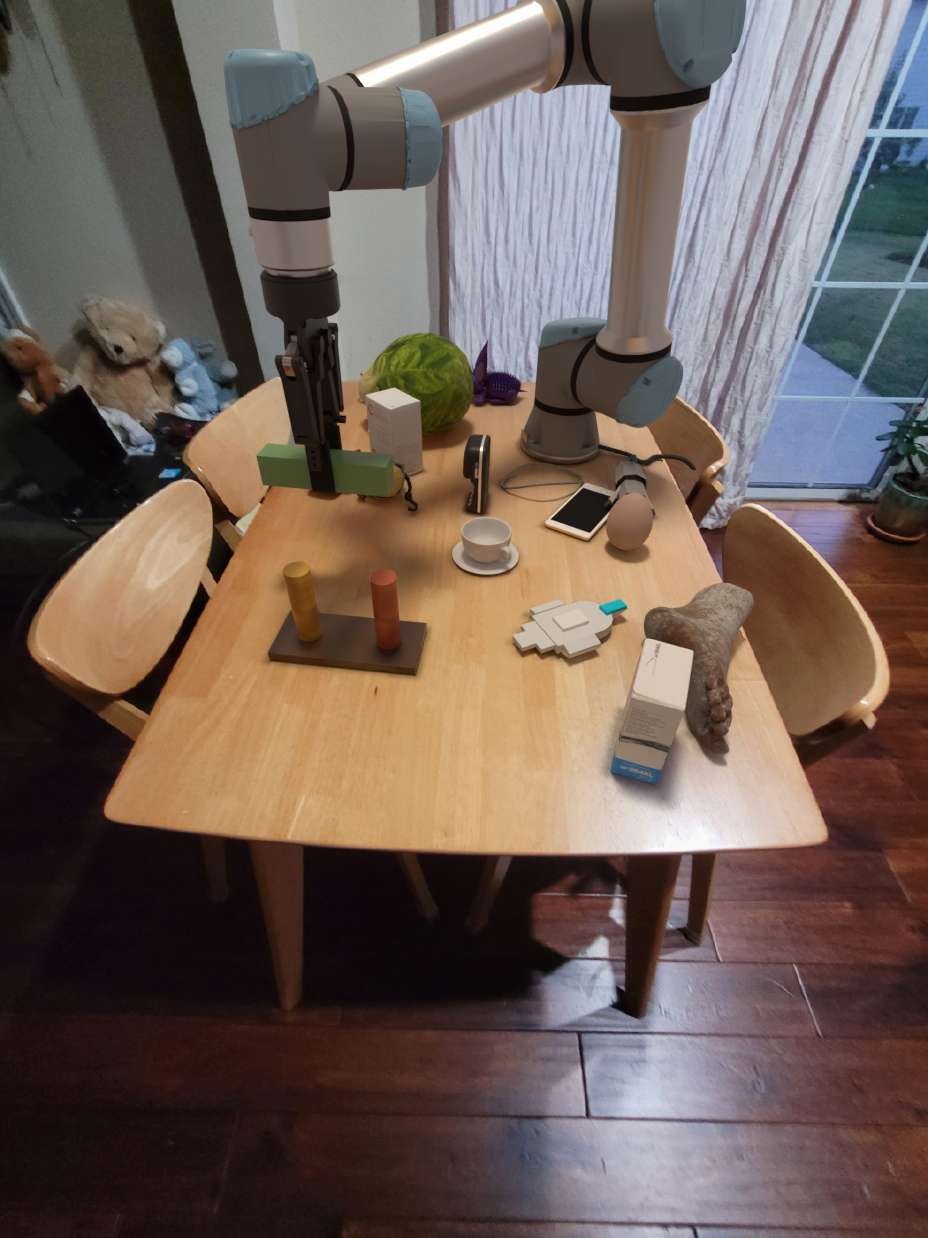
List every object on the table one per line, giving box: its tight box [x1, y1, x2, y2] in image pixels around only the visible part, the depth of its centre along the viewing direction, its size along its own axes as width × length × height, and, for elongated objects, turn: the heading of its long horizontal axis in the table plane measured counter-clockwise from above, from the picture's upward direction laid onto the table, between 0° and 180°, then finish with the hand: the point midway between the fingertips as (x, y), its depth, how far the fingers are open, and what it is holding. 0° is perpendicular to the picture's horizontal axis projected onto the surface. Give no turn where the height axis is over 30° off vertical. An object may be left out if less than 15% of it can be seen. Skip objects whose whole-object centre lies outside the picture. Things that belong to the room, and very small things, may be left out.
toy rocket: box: [511, 598, 629, 659], centre depth 74 cm, size 16×10×2 cm, turn 115°
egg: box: [605, 493, 654, 551], centre depth 86 cm, size 7×7×9 cm
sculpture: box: [643, 582, 755, 755], centre depth 67 cm, size 8×22×15 cm
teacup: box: [451, 516, 520, 575], centre depth 86 cm, size 10×10×5 cm
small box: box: [365, 388, 424, 477], centre depth 103 cm, size 8×6×13 cm
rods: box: [267, 561, 428, 675], centre depth 69 cm, size 18×8×11 cm, turn 83°
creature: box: [471, 339, 529, 406], centre depth 128 cm, size 9×18×12 cm, turn 96°
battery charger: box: [462, 433, 492, 514], centre depth 95 cm, size 7×4×11 cm, turn 172°
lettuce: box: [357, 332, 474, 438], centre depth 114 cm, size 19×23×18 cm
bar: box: [255, 442, 394, 498], centre depth 72 cm, size 16×4×4 cm, turn 82°
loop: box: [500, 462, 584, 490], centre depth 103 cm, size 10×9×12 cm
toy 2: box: [604, 453, 657, 517], centre depth 96 cm, size 9×6×15 cm
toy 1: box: [354, 448, 420, 513], centre depth 97 cm, size 8×9×15 cm
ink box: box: [609, 638, 694, 785], centre depth 58 cm, size 9×5×12 cm, turn 158°
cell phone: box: [544, 482, 618, 541], centre depth 97 cm, size 8×16×1 cm, turn 147°
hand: (329, 482), depth 73 cm, fingers closed on bar, 3 cm apart
